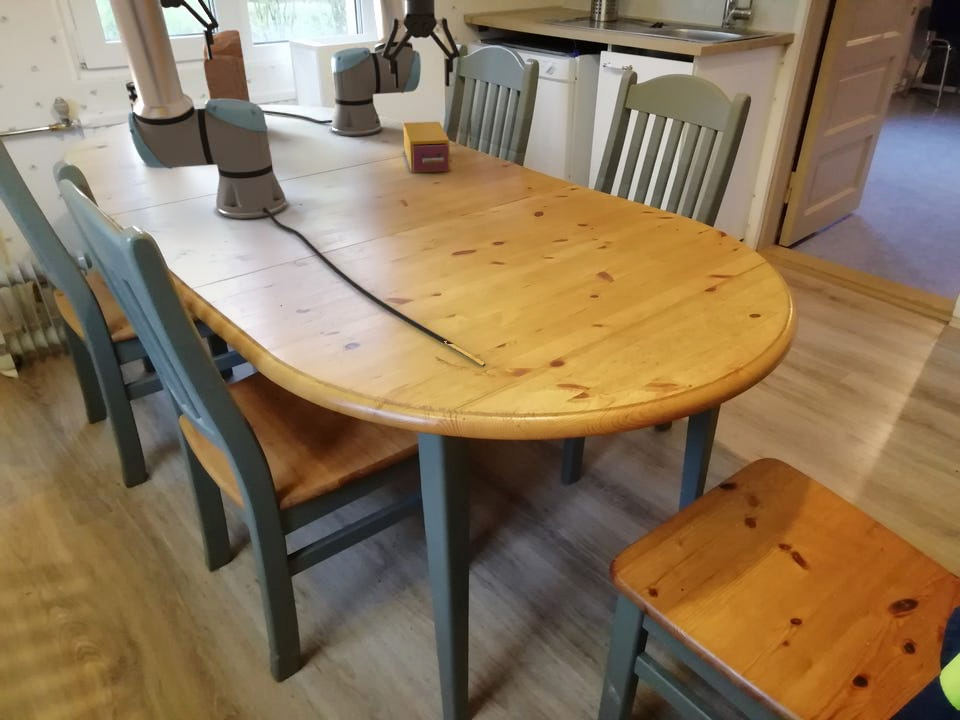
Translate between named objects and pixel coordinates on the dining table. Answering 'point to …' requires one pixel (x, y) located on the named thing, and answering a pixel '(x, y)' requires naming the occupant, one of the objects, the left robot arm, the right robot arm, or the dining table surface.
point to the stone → (226, 67)
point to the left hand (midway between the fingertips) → (182, 60)
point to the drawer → (430, 157)
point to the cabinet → (423, 139)
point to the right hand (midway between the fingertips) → (422, 86)
